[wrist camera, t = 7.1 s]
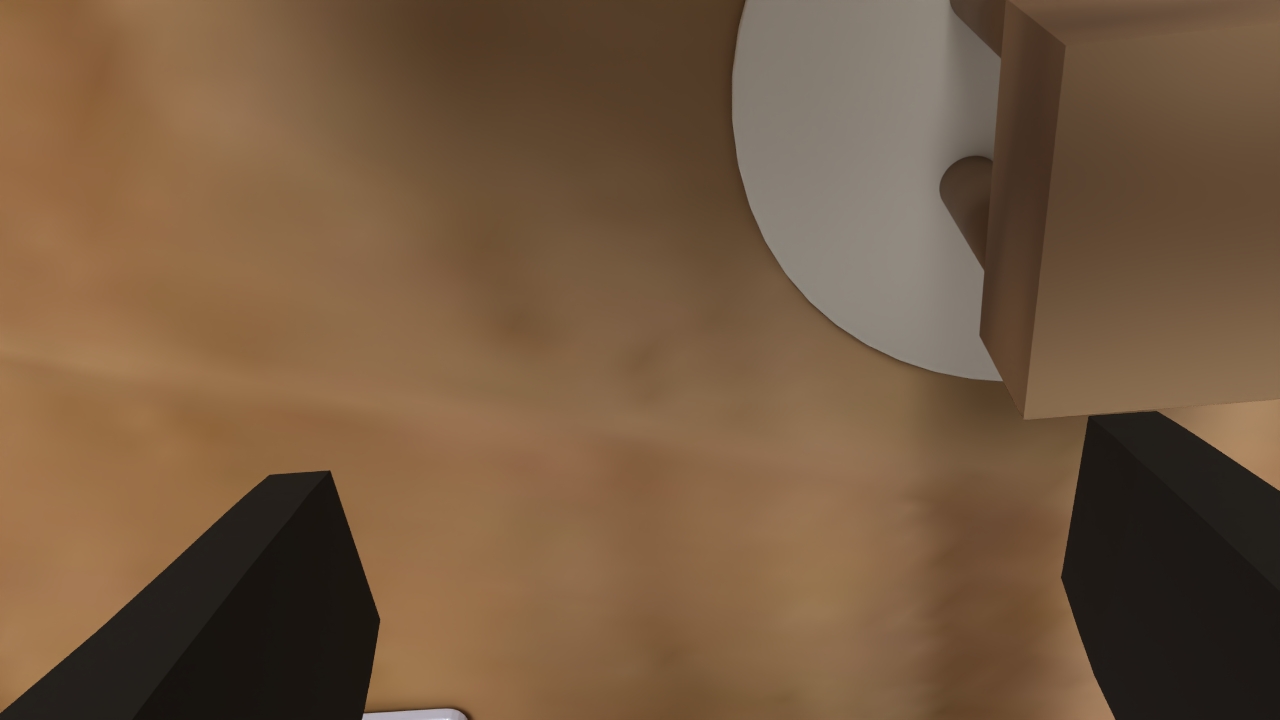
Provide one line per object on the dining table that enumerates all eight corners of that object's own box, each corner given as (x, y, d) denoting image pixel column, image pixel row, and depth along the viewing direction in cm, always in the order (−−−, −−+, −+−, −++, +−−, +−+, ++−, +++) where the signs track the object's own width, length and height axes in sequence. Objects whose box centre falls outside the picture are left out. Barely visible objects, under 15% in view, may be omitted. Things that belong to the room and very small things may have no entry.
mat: (1346, 344, 20) (1358, 354, 20) (750, 394, 21) (751, 405, 21) (1576, -396, 14) (1599, -398, 13) (705, -279, 15) (707, -278, 14)
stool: (1203, 202, 18) (1414, 388, 13) (923, 229, 18) (1023, 419, 13) (1263, -96, 15) (1557, -9, 10) (935, -58, 16) (1066, 45, 11)
